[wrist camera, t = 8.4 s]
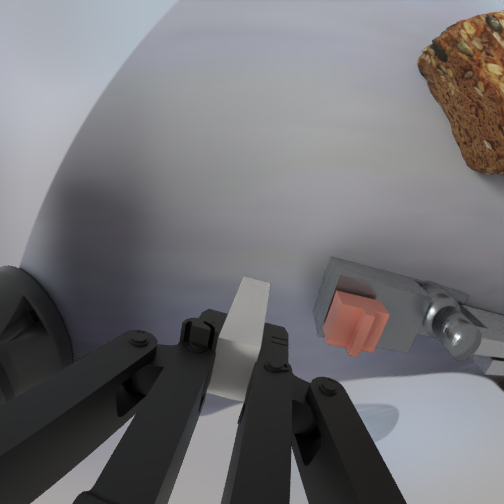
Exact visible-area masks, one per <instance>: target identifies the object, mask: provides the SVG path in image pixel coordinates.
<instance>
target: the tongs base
mask: <svg viewBox="0 0 504 504" xmlns="http://www.w3.org/2000/svg"><path fill="white" fill-rule="evenodd" d="M336 290H337V291H341V292H345V293H349V294H354V295H358V296H362V297H366V298H371V299H375V300H379V301H381V303H382V304H383V305H384V307H385V308H386V310H387V311H388V313H389V314H390V315H389V318H388V320H387V322H386V325H385V327H384V329H383V332H382V334H381V336H380V339H379V341H378V343H377V345H376V347H375V348H381V349H387V350H393V351H399V352H406V353H408V351H409V349H410V347H411V345H412V343H413V341H414V339H415V337H416V335H417V334H419V335H425V336H430V337H433V338H438V337H437V336H436V335H435V334H434V333H433V331H432V321H433V318H434V316H435V315H436V313H437V312H438V311H439V310H440V309H442V308H443V307H446V306H454V307H455V308H456V309H458V310H459V311H460V312H461V309H460V307H461V305H465V302H466V300H467V297H468V294H467V293H464V292H460V291H457V290H453V289H449V288H446V287H442V286H438V285H436V284H435V283H434V282H430V281H426V282H424V281H420V280H416V279H412V278H409V277H405V276H401V275H398V274H394V273H390V272H386V271H382V270H379V269H375V268H371V267H367V266H363V265H360V264H356V263H352V262H348V261H344V260H340V259H337V258H333V257H330V259H329V263H328V266H327V269H326V272H325V276H324V279H323V282H322V285H321V288H320V291H319V294H318V297H317V300H316V303H315V306H314V309H313V313H314V318H315V323H316V328H317V333H318V337H323V338H325V333H324V329H323V327H324V324H325V321H326V319H327V316H328V313H329V310H330V307H331V305H332V302H333V299H334V296H335V293H336ZM470 357H471V358H472V359H473V361H474V362H475V363H476V364H477V365H478V367H479V368H480V369H481V370H482V371H483V373H484V374H485V375H504V358H499V357H491V356H484V355H476V354H473V355H472V356H470Z"/></svg>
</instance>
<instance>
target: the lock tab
mask: <svg viewBox="0 0 504 504" xmlns="http://www.w3.org/2000/svg"><path fill="white" fill-rule="evenodd" d="M389 315H390V314H389V313H388V311H387V310H386V308H385V307H384V305H383V304H382V303H381V301H379V300H375V299H371V298H366V297H362V296H358V295H354V294H349V293H345V292H341V291H337V290H336V293H335V296H334V299H333V302H332V305H331V307H330V310H329V313H328V316H327V319H326V321H325V324H324V327H323V329H324V333H325V338H326V342H327V344H329V345H334V346H339V347H345V348H346V349H347V352H348V355H350V356H356V357H358V356H359V354H360V351H367V352H374V350H375V347H376V345H377V343H378V341H379V339H380V336H381V334H382V332H383V329H384V327H385V325H386V322H387V320H388V318H389Z"/></svg>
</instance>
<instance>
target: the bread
mask: <svg viewBox="0 0 504 504" xmlns="http://www.w3.org/2000/svg"><path fill="white" fill-rule="evenodd" d="M432 42H433V44H431V45H429V46H427V47H426V48H425V49H424V50H423V51H422V52H423V54H422V55H421V56H420V57H419V58H418V62H417V64H418V67H419V71H420V73H421V74H422V76H424V77H425V78H426V79H427V83H428V86H429V89H430V92H431V94H432V95H433V97H434V98H435V100H436V101H437V102H438V103H439V104H440V105H441V106H442V108H443V110H444V112H445V114H446V115H447V117H448V119H449V121H450V123H451V127H452V132H453V135H454V138H455V140H456V142H457V144H458V145H459V147H460V149H461V153H462V156H463V158H464V160H465V161H466V163H467V166H469V167H470V168H471V169H473V170H477V171H478V172H480V173H485V174H488V175H491V174H493V173H498V174H501V175H504V10H503V11H501V12H494V13H488V14H483V15H477V16H475V17H472V18H470V19H467V20H461V21H459V22H457V23H456V24H454V25H452V26H450V27H448V28H447V29H446V30H445V31H443V32H442V33H441V35H440V37H437V38H435V39H434V40H432Z"/></svg>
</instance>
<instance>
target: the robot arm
mask: <svg viewBox="0 0 504 504" xmlns="http://www.w3.org/2000/svg"><path fill="white" fill-rule="evenodd" d="M269 290H270V283H268V282H264V281H260V280H256V279H252V278H248V277H244V276H243V279H242V281H241V284H240V286H239V288H238V291H237V293H236V296H235V298H234V301H233V303H232V306H231V308H230V310H229V313H228V314H226V313H222V312H218V311H215V310H211V309H208V310H206V311H204V312H202V314H201V316H200V317H199V318H190V319H186V320H185V321H184V322H183V323H182V329H181V336H180V342H179V343H178V345H173V346H168V345H158V344H157V339H156V338H155V336H153V335H152V334H150V333H148V332H145V331H141V330H132V331H128V332H126V333H124V334H122V335H120V336H119V337H117V338H115V339H114V340H112V341H110V342H109V343H107V344H105V345H104V346H102V347H100V348H98V349H97V350H95V351H93V352H92V353H90V354H88V355H87V356H85V357H83V358H82V359H80V360H78V361H76V362H75V363H73V356H72V348H71V343H70V339H69V336H68V333H67V330H66V328H65V325H64V323H63V321H62V319H61V317H60V315H59V313H58V311H57V309H56V307H55V306H54V304H53V302H52V301H51V299H50V298H49V296H48V295H47V294H46V292H45V291H44V290H43V289H42V287H41V286H40V285H39V284H38V283H37V282H36V281H35V280H34V279H33V278H32V277H31V276H30V275H28V274H27V273H26V272H24V271H23V270H21V269H19V268H16V267H13V266H3V267H0V504H30V503H31V502H33V501H34V500H35V499H36V498H38V497H39V496H40V495H41V494H43V493H44V492H45V491H46V490H48V489H49V488H50V487H51V486H52V485H54V484H55V483H56V482H57V481H59V480H60V479H61V478H62V477H63V476H65V475H66V474H67V473H68V472H69V471H71V470H72V469H73V468H74V467H75V466H76V465H78V464H79V463H80V462H81V461H82V460H84V459H85V458H86V457H87V456H88V455H90V454H91V453H92V452H93V451H94V450H95V449H96V448H98V447H99V446H100V445H101V444H102V443H103V442H105V441H106V440H107V439H108V438H109V437H110V436H111V435H112V434H114V433H115V432H116V431H117V430H118V429H119V428H120V427H122V426H123V425H124V424H125V423H126V422H127V421H128V420H129V419H130V418H131V417H133V416H134V415H135V414H136V415H135V416H134V418H133V420H132V422H131V423H130V425H129V427H128V428H127V430H126V432H125V433H124V435H123V437H122V438H121V440H120V442H119V444H118V445H117V447H116V449H115V450H114V452H113V454H112V455H111V457H110V459H109V461H108V462H107V464H106V466H105V467H104V469H103V471H102V473H101V475H100V476H99V478H98V480H97V481H96V483H95V485H94V486H93V488H92V489H91V490H90V491H84V492H82V493H81V494H79V495H78V496H77V498H76V499H75V501H74V502H73V504H168V501H169V498H170V495H171V493H172V490H173V487H174V484H175V481H176V479H177V476H178V473H179V470H180V467H181V465H182V462H183V459H184V457H185V454H186V451H187V448H188V445H189V443H190V440H191V437H192V434H193V432H194V429H195V426H196V423H197V421H198V418H199V415H200V412H201V409H202V407H203V404H204V401H205V396H206V392H207V393H210V394H213V395H217V396H221V397H224V398H228V399H232V400H236V401H240V402H244V404H243V407H242V410H241V413H240V416H239V420H238V429H237V433H236V438H235V443H234V447H233V452H232V457H231V461H230V466H229V471H228V475H227V479H226V483H225V488H224V492H223V497H222V501H221V504H289V501H290V500H289V499H290V478H291V446H292V449H293V452H294V456H295V459H296V463H297V466H298V469H299V472H300V476H301V480H302V483H303V486H304V489H305V493H306V496H307V499H308V502H309V504H407V503H406V501H405V499H404V498H403V496H402V494H401V492H400V490H399V488H398V486H397V484H396V482H395V481H394V479H393V477H392V475H391V473H390V471H389V469H388V468H387V466H386V464H385V462H384V460H383V458H382V456H381V455H380V453H379V451H378V449H377V447H376V445H375V443H374V442H373V440H372V438H371V436H370V434H369V432H368V431H367V429H366V427H365V425H364V423H363V421H362V420H361V418H360V416H359V414H358V412H357V410H356V409H355V407H354V405H353V403H352V401H351V400H350V398H349V396H348V394H347V393H346V391H345V389H344V387H343V386H342V385H341V384H340V383H339V382H337V381H336V380H333V379H331V378H327V377H317V378H315V379H313V380H312V382H311V383H309V382H306V381H304V380H302V379H300V378H298V377H297V376H295V375H294V374H293V373H292V368H291V366H290V364H289V363H288V333H287V331H286V330H285V328H284V327H280V326H276V325H272V324H268V323H265V317H266V310H267V303H268V296H269ZM72 363H73V364H72Z"/></svg>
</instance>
